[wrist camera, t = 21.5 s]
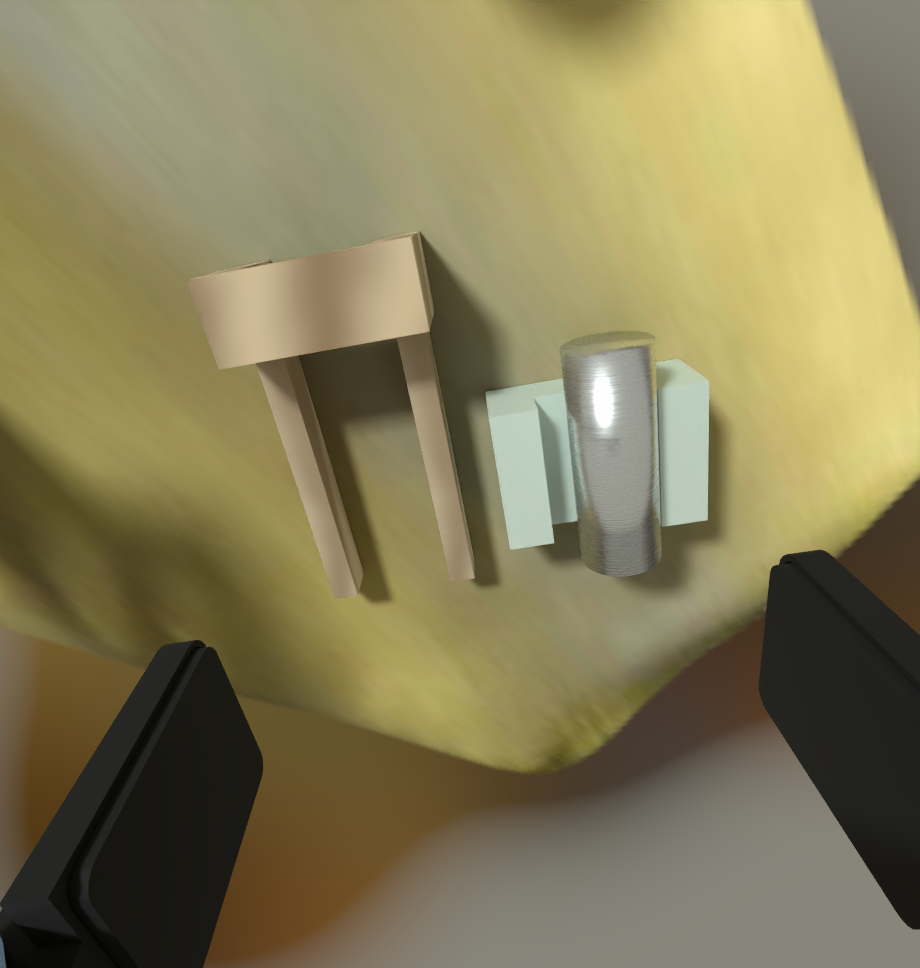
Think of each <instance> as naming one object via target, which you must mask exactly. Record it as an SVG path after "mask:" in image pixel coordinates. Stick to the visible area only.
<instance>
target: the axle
mask: <svg viewBox="0 0 920 968" xmlns="http://www.w3.org/2000/svg"><path fill="white" fill-rule="evenodd" d="M560 357H561V367H562V377H563V386H564V396H565V406H566V415H567V425H568V435H569V444H570V454H571V464H572V473H573V483H574V493H575V503H576V512H577V522H578V532H579V541H580V551H581V559H582V561H583V563H584V564H585V565H586V566H587V567H588V568H589V569H591V570H593V571H595V572H597V573H600V574H603V575H607V576H615V577H626V576H634V575H638V574H641V573H644V572H647V571H649V570H650V569H652V568H654V567H655V566H656V565H657V564H658V563H659V561H660V559H661V556H662V547H661V515H660V482H659V450H658V417H657V385H656V352H655V337H654V335H652V334H650V333H646V332H640V331H614V332H605V333H598V334H593V335H588V336H584V337H580V338H577V339H574V340H572V341H569V342H567V343H565V344H564V345H562V346H561V347H560Z"/></svg>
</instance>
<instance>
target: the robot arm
mask: <svg viewBox="0 0 920 968" xmlns="http://www.w3.org/2000/svg"><path fill="white" fill-rule="evenodd" d="M759 692H760V696H761V700H762V702H763V705H764V707H765V709H766V710H767V712H768V713H769V715H770V716H771V718H772V720H773V721H774V723H775V724H776V726H777V727H778V729H779V730H780V732H781V734H782V735H783V737H784V738H785V739H786V741H787V743H788V744H789V746H790V748H791V749H792V751H793V752H794V754H795V755H796V757H797V758H798V760H799V761H800V763H801V765H802V766H803V768H804V769H805V771H806V772H807V774H808V776H809V777H810V779H811V780H812V782H813V783H814V785H815V786H816V788H817V789H818V791H819V793H820V794H821V795H822V797H823V799H824V800H825V802H826V803H827V805H828V806H829V808H830V809H831V811H832V813H833V814H834V816H835V817H836V819H837V821H838V822H839V824H840V825H841V827H842V828H843V830H844V831H845V833H846V835H847V836H848V838H849V839H850V841H851V842H852V844H853V845H854V847H855V848H856V850H857V852H858V853H859V855H860V856H861V857H862V859H863V861H864V862H865V864H866V866H867V867H868V869H869V870H870V872H871V873H872V875H873V876H874V878H875V879H876V881H877V883H878V884H879V886H880V887H881V889H882V890H883V892H884V894H885V895H886V897H887V898H888V900H889V901H890V903H891V904H892V906H893V907H894V909H895V911H896V912H897V914H898V915H899V916H900V918H901V919H902V920H903V921H904V922H905V923H906V924H907V925H908V926H909V927H910V928H912V929H920V635H919V634H918V633H917V632H915V631H914V630H913V629H912V628H911V627H910V626H909V625H908V624H907V623H905V622H904V621H903V620H902V619H901V618H900V617H899V616H898V615H897V614H896V613H894V612H893V611H892V610H891V609H890V608H889V607H888V606H886V605H885V604H884V603H883V602H882V601H881V600H880V599H879V598H878V597H877V596H875V595H874V594H873V593H872V592H871V591H870V590H869V589H868V588H867V587H865V586H864V585H863V584H862V583H861V582H860V581H859V580H858V579H857V578H855V577H854V576H853V575H852V574H851V573H850V572H849V571H848V570H847V569H846V568H844V567H843V566H842V565H841V564H840V563H839V562H838V561H837V560H836V559H835V558H833V557H832V556H831V555H830V554H829V553H827V552H826V551H824V550H814V551H808V552H801V553H794V554H787V555H784V556H783V557H782V558H781V560H780V563H779V565H775V566H773V567H772V569H771V572H770V579H769V589H768V599H767V609H766V619H765V629H764V639H763V649H762V659H761V668H760V679H759ZM262 773H263V759H262V754H261V752H260V749H259V747H258V745H257V742H256V740H255V738H254V736H253V734H252V731H251V729H250V727H249V724H248V723H247V720H246V718H245V715H244V713H243V711H242V709H241V706H240V704H239V702H238V700H237V697H236V695H235V693H234V691H233V688H232V686H231V684H230V681H229V679H228V677H227V675H226V672H225V670H224V668H223V666H222V663H221V661H220V659H219V657H218V654H217V652H216V651H215V649H214V648H212V647H206V646H205V644H204V643H203V642H202V641H200V640H194V641H187V642H180V643H173V644H166V645H164V646H162V647H161V648H160V649H159V650H158V652H157V653H156V655H155V656H154V658H153V660H152V661H151V663H150V664H149V666H148V668H147V669H146V671H145V672H144V674H143V676H142V677H141V679H140V680H139V682H138V684H137V685H136V687H135V688H134V690H133V692H132V693H131V695H130V696H129V698H128V700H127V701H126V703H125V704H124V706H123V708H122V709H121V711H120V712H119V714H118V716H117V717H116V719H115V720H114V722H113V724H112V725H111V727H110V728H109V730H108V731H107V733H106V735H105V737H104V738H103V739H102V741H101V743H100V744H99V746H98V747H97V749H96V751H95V752H94V754H93V755H92V757H91V759H90V760H89V762H88V763H87V765H86V767H85V768H84V770H83V771H82V773H81V775H80V776H79V778H78V780H77V781H76V783H75V784H74V786H73V787H72V789H71V791H70V792H69V794H68V796H67V797H66V799H65V800H64V802H63V803H62V805H61V807H60V808H59V810H58V812H57V813H56V815H55V816H54V818H53V819H52V821H51V823H50V824H49V826H48V827H47V829H46V831H45V832H44V834H43V835H42V837H41V839H40V840H39V842H38V843H37V845H36V847H35V848H34V850H33V851H32V853H31V855H30V856H29V858H28V860H27V861H26V862H25V864H24V866H23V867H22V869H21V871H20V872H19V874H18V875H17V877H16V878H15V880H14V882H13V883H12V885H11V887H10V888H9V890H8V891H7V893H6V895H5V896H4V898H3V899H2V901H1V902H0V906H1V907H2V908H3V909H2V911H1V912H0V968H203V966H204V962H205V959H206V956H207V953H208V950H209V946H210V943H211V940H212V937H213V933H214V930H215V927H216V924H217V920H218V917H219V914H220V911H221V907H222V904H223V901H224V898H225V894H226V891H227V888H228V885H229V881H230V878H231V875H232V872H233V868H234V865H235V862H236V859H237V855H238V852H239V848H240V845H241V843H242V839H243V836H244V833H245V830H246V826H247V823H248V820H249V816H250V813H251V810H252V807H253V804H254V800H255V797H256V794H257V791H258V787H259V784H260V781H261V777H262Z"/></svg>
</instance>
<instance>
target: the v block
mask: <svg viewBox="0 0 920 968" xmlns="http://www.w3.org/2000/svg"><path fill="white" fill-rule="evenodd" d="M656 385H657V417H658V450H659V482H660V515H661V526H662V527H665V526H672V525H679V524H685V523H692V522H699V521H705V520H708V445H709V380H707V379H706V378H704V377H703V376H702V375H700V374H699V373H697V372H696V371H695V370H693V369H692V368H690V367H689V366H688V365H686V364H685V363H684V362H682V361H681V360H679V359H674V360H668V361H662V362H656ZM485 394H486V401H487V408H488V416H489V422H490V428H491V435H492V441H493V447H494V453H495V459H496V465H497V471H498V477H499V483H500V490H501V496H502V502H503V508H504V514H505V520H506V526H507V532H508V538H509V545H510V550H511V549H518V548H525V547H532V546H538V545H545V544H552V543H554V537H553V529H552V525H554V524H561V523H568V522H574V521H577V512H576V503H575V493H574V483H573V473H572V464H571V454H570V444H569V435H568V425H567V415H566V406H565V396H564V386H563V379H557V380H551V381H545V382H539V383H533V384H528V385H522V386H516V387H510V388H504V389H498V390H493V391H487V392H485Z"/></svg>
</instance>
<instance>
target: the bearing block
mask: <svg viewBox="0 0 920 968" xmlns="http://www.w3.org/2000/svg"><path fill="white" fill-rule="evenodd" d="M187 283H188V286H189V289H190V292H191V294H192V297H193V300H194V303H195V305H196V308H197V311H198V314H199V316H200V319H201V322H202V325H203V327H204V330H205V333H206V335H207V338H208V341H209V344H210V346H211V349H212V352H213V355H214V357H215V360H216V363H217V366H218V368H219V370H220V369H225V368H231V367H237V366H242V365H248V364H253V363H256V364H257V367H258V370H259V373H260V376H261V379H262V382H263V385H264V388H265V391H266V394H267V397H268V400H269V403H270V406H271V409H272V412H273V415H274V418H275V421H276V424H277V427H278V430H279V433H280V436H281V439H282V442H283V445H284V448H285V451H286V454H287V457H288V460H289V463H290V466H291V469H292V472H293V475H294V478H295V481H296V484H297V487H298V490H299V493H300V496H301V499H302V502H303V505H304V508H305V511H306V514H307V517H308V520H309V523H310V526H311V529H312V532H313V535H314V538H315V541H316V544H317V547H318V550H319V553H320V556H321V559H322V562H323V564H324V567H325V570H326V573H327V576H328V579H329V582H330V585H331V588H332V591H333V594H334V597H335V599H338V598H345V597H352V596H358V593H359V590H360V586H361V582H362V578H363V574H364V572H363V568H362V565H361V562H360V558H359V555H358V552H357V549H356V545H355V542H354V539H353V535H352V532H351V529H350V525H349V522H348V519H347V515H346V512H345V509H344V505H343V502H342V499H341V495H340V492H339V489H338V485H337V482H336V479H335V475H334V472H333V469H332V465H331V462H330V459H329V455H328V452H327V449H326V445H325V442H324V439H323V435H322V432H321V429H320V425H319V422H318V419H317V415H316V412H315V409H314V405H313V402H312V399H311V396H310V392H309V389H308V386H307V382H306V379H305V376H304V372H303V369H302V366H301V362H300V359H299V356H298V355H303V354H309V353H314V352H320V351H325V350H331V349H336V348H342V347H347V346H353V345H359V344H364V343H370V342H375V341H381V340H386V339H392V338H397V342H398V346H399V351H400V355H401V360H402V364H403V369H404V373H405V378H406V382H407V387H408V391H409V396H410V400H411V405H412V409H413V414H414V418H415V423H416V427H417V432H418V436H419V441H420V445H421V449H422V454H423V458H424V463H425V467H426V472H427V476H428V481H429V485H430V490H431V494H432V499H433V503H434V508H435V512H436V517H437V521H438V526H439V530H440V535H441V539H442V544H443V548H444V553H445V557H446V562H447V566H448V571H449V575H450V580H451V582H454V581H461V580H468V579H474V578H475V574H474V555H473V550H472V545H471V540H470V535H469V530H468V525H467V519H466V514H465V509H464V504H463V499H462V494H461V489H460V484H459V479H458V474H457V469H456V464H455V459H454V454H453V449H452V443H451V438H450V433H449V428H448V423H447V418H446V413H445V408H444V403H443V398H442V393H441V388H440V383H439V378H438V373H437V367H436V362H435V357H434V352H433V347H432V342H431V337H430V327H431V323H432V319H433V315H434V305H433V299H432V294H431V289H430V284H429V278H428V273H427V268H426V263H425V257H424V252H423V247H422V242H421V236H420V231H417V232H412V233H406V234H401V235H396V236H391V237H386V238H381V239H379V240H377V241H375V242H373V243H370V244H368V245H363V246H358V247H353V248H348V249H343V250H338V251H332V252H327V253H322V254H317V255H312V256H307V257H301V258H296V259H291V260H286V261H281V262H276V263H271V262H270V260H267V261H262V262H257V263H252V264H247V265H242V266H236V267H232V268H228V269H225V270H222V271H218V272H215V273H211V274H208V275H204V276H201V277H197V278H194V279H190V280H187Z"/></svg>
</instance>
